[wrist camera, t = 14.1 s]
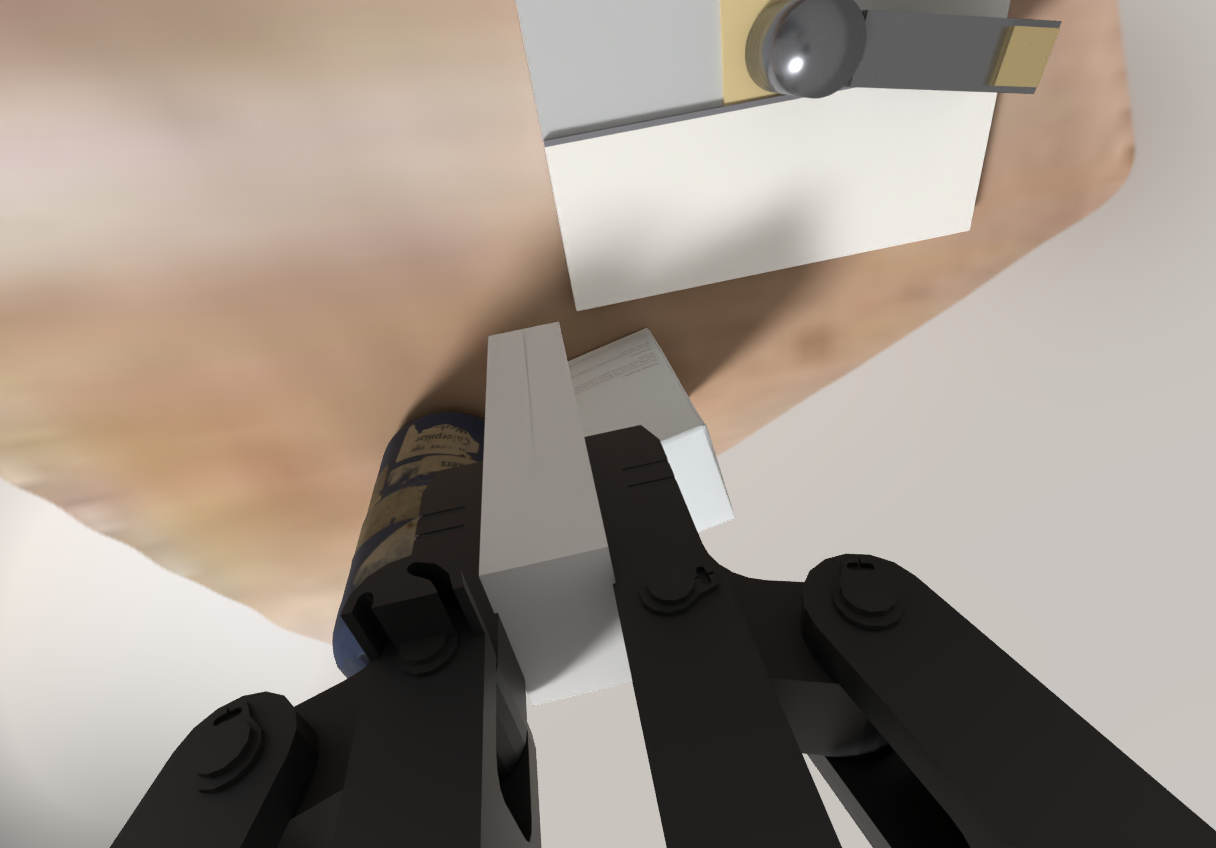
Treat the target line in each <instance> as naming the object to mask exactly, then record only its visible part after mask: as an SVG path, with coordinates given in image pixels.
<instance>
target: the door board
mask: <svg viewBox="0 0 1216 848" xmlns="http://www.w3.org/2000/svg"><path fill="white" fill-rule="evenodd" d="M779 1H783V0H515V2H516V7H517V12H518V17H519V22H520V27H521V32H522V37H523V43H524V48H525V53H526V58H527V63H528V68H529V73H530V78H531V84H532V89H533V94H534V99H535V104H536V109H537V114H538V119H539V124H540V130H541V135H542V140H543V145H544V150H545V155H546V160H547V165H548V171H549V176H550V181H551V186H552V191H553V196H554V201H555V206H556V212H557V217H558V222H559V227H560V232H561V237H562V242H563V247H564V252H565V258H566V263H567V268H568V273H569V278H570V283H571V288H572V293H573V299H574V303H575V307H576V310H577V311H581V310H586V309H591V308H596V307H601V306H605V305H610V304H615V303H620V302H625V301H630V300H634V299H639V298H644V297H649V296H654V295H659V294H664V293H668V292H673V291H678V290H683V289H688V288H693V287H697V286H702V285H707V284H712V283H717V282H722V281H727V280H731V279H736V278H741V277H746V276H751V275H756V274H761V273H765V272H770V271H775V270H780V269H785V268H790V267H794V266H799V265H804V264H809V263H814V262H819V261H824V260H828V259H833V258H838V257H843V256H848V255H853V254H857V253H862V252H867V251H872V250H877V249H882V248H887V247H891V246H896V245H901V244H906V243H911V242H916V241H920V240H925V239H930V238H935V237H940V236H945V235H950V234H954V233H959V232H964V231H969V230H970V225H971V220H972V215H973V210H974V205H975V200H976V196H977V191H978V186H979V181H980V176H981V171H982V166H983V161H984V156H985V151H986V146H987V141H988V136H989V131H990V126H991V121H992V116H993V111H994V107H995V102H996V97H997V93H994V92H967V91H941V90H914V89H887V88H860V87H844V86H843V87H842V88H841V89H840V90H838V91H837V92H835V93H833V94H831V95H829V96H826V97H823V98H816V99H813V98H805V97H799V96H793V95H786V94H780V93H773V92H769V91H765V90H763V89H761V88H760V87H759V86H757V85H756V84H755V83H754V81H753V80H752V79H751V77H750V75H749V73H748V70H747V67H746V62H745V46H746V40H747V37H748V34H749V31H750V29H751V27H752V25H753V23H754V21H755V20H756V19H757V17H758V16H759V15H760V14H761V13H762V12H763V11H764V10H765V9H766V8H767V7H769V6H770V5H772V4H774V3H776V2H779ZM854 1H855V2H856V3H857V5H858V6H859V8H860V9H861V10H881V11H898V12H915V13H932V14H948V15H965V16H982V17H999V18H1007V16H1008V11H1009V6H1010V1H1011V0H854Z"/></svg>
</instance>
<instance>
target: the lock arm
mask: <svg viewBox="0 0 1216 848" xmlns="http://www.w3.org/2000/svg"><path fill="white" fill-rule="evenodd" d="M1060 24H1061V21H1049V20H1032V19H1016V18H999V17H982V16H965V15H948V14H932V13H915V12H898V11H881V10H861V9H860V8H859V6H858V5H857V3H856V2H855V1H854V0H783V1H779V2H776V3H774V4H772V5H770V6H769V7H767V8H766V9H765V10H764V11H763V12H762V13H761V14H760V15H759V16H758V17H757V19H756V20H755V21H754V23H753V25H752V27H751V29H750V31H749V34H748V37H747V40H746V46H745V62H746V67H747V70H748V73H749V75H750V77H751V79H752V80H753V81H754V83H755V84H756V85H757V86H759V87H760V88H761V89H763V90H765V91H769V92H773V93H780V94H786V95H793V96H799V97H805V98H813V99H816V98H823V97H826V96H829V95H831V94H833V93H835V92H837V91H838V90H840V89H841V88H842V87H843V86H844V87H860V88H887V89H914V90H941V91H967V92H994V93H1021V94H1034V92H1035V90H1036V87H1038V85H1039V82H1040V79H1041V77H1042V74H1043V72H1044V69H1045V66H1046V64H1047V61H1048V58H1049V56H1050V53H1051V51H1052V48H1053V45H1054V43H1055V40H1056V37H1057V35H1058V32H1059V30H1060V28H1059V27H1060Z"/></svg>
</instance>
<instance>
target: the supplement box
mask: <svg viewBox="0 0 1216 848" xmlns="http://www.w3.org/2000/svg"><path fill="white" fill-rule="evenodd" d="M568 365H569V370H570V374H571V379H572V384H573V388H574V393H575V397H576V402H577V406H578V411H579V416H580V420H581V425H582V429H583V434H584V437H586V436H591V435H596V434H600V433H605V432H609V431H614V430H619V429H623V428H628V427H633V426H637V425H642V426H643V427H644V428H646V429H647V430H648V431H650V432H651V433H652V434H653V435H655V436H656V437H657V438H659V439H660V442H661V444H662V446H663V449H664V451H665V454H666V456H667V459H668V463H670V466H671V468H672V471H673V473H674V476H675V480H676V481H677V483H678V485H679V488H680V490H681V493H682V495H683V498H684V500H685V502H686V505H687V507H688V510H689V512H690V515H691V517H692V520H693V522H694V524H695V527H696V529H697V532H701V531H703V530H706V529H708V528H711V527H713V526H716V525H719V524H721V523H723V522H726V521H728V520H731V519H734V518H735V515H734V512H733V509H732V506H731V503H730V499H729V496H728V493H727V490H726V487H725V484H724V481H723V477H722V474H721V471H720V468H719V464H718V461H717V458H716V454H715V451H714V448H713V445H712V442H711V439H710V436H709V432H708V429H707V426H706V424H705V423H704V421H703V420H702V418H701V417H700V415H699V414H698V412H697V411H696V409H695V407H694V406H693V404H692V402H691V400H690V399H689V397H688V395H687V393H686V392H685V390H684V388H683V387H682V385H681V383H680V381H679V379H678V378H677V376H676V374H675V372H674V371H673V369H672V367H671V365H670V363H669V362H668V360H667V358H666V356H665V355H664V353H663V351H662V349H661V348H660V346H659V345H658V343H657V341H656V340H655V338H654V336H653V335H652V333H651V332H650V330H649V329H648V328H644V329H642V330H640V331H638V332H635V333H633V334H630V335H628V336H626V337H623V338H621V339H619V340H616V341H614V342H612V343H609V344H607V345H605V346H602V347H600V348H598V349H595V350H593V351H591V352H588V353H586V354H584V355H581V356H579V357H577V358H574V359H572V360H570V361H568Z"/></svg>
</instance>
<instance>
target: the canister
mask: <svg viewBox="0 0 1216 848" xmlns="http://www.w3.org/2000/svg"><path fill="white" fill-rule="evenodd" d="M484 432H485V420H482V419H480V418H478V417H475V416H471V415H468V414H463V413H454V412H443V413H435V414H429V415H426V416H423V417H421V418H418V419H416V420H414V421H412V422H410V423H409V424H407V425H406V426H404V427H403V428H402V429H401V430H399V431H398V432H397V433H396V434H395V435H394V437H393V438H392V439H391V441H390V442H389V444H388V446H387V448H386V450H385V453H384V456H383V459H382V462H381V466H380V470H379V473H378V477H377V480H376V483H375V486H374V490H373V494H372V498H371V501H370V505H369V508H368V512H367V516H366V518H365V520H364V523H363V525H362V529H361V532H360V536H359V540H358V544H357V547H356V551H355V555H354V557H353V559H352V565H351V569H350V573H349V577H348V580H347V584H346V588H345V591H344V595H343V599H342V602H341V605H340V608H339V611H338V615H337V619H336V623H335V627H334V632H333V653H334V657H335V660H336V664H337V666H338V668H339V669H340V670H341V672H342V673H343V674H344V675H345V676H346V677H347V679H348V678H349V677H351V676H353V675H354V674H356V673H357V672H359V671H361V670H362V669H363V668H364V667H365V666H367V665H368V664H369V663H370V660H369V659H368V657H367V656H366V654H365V653H364V651H363V650H362V648H361V646H360V645H359V643H358V642H357V640H356V639H355V637H354V636H353V634H352V633H351V631H350V630H349V628H348V627H347V625H346V624H345V622H344V620H343V619H342V617H341V616H340V614H341V612H342V610H343V608H344V606H345V604H346V602H347V600H348V598H349V596H350V594H351V593H352V592H353V591H354V590H355V589H356V588H357V587H358V586H359V585H360V584H361V583H362V582H363V581H364V580H365V578H366V577H368V576H369V575H371V574H372V573H374V572H375V571H377V570H378V569H380V568H382V567H383V566H385V565H386V564H388V563H390V562H393V561H396V560H399V559H401V558H404V557H407V556H410V555H412V549H413V543H414V540H416V537H415V532H416V526H417V521H418V520H419V517H418V515H419V509H420V503H421V498H422V493H423V491H424V490H425V488H426V487H427V486H428V484H429V483H430V481H431V480H432V478H433V477H434V476H435V474H436V473H437V471H439V470H444V469H448V468H453V467H458V466H462V465H467V464H471V463H476V462H481V461H483V457H484Z"/></svg>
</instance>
